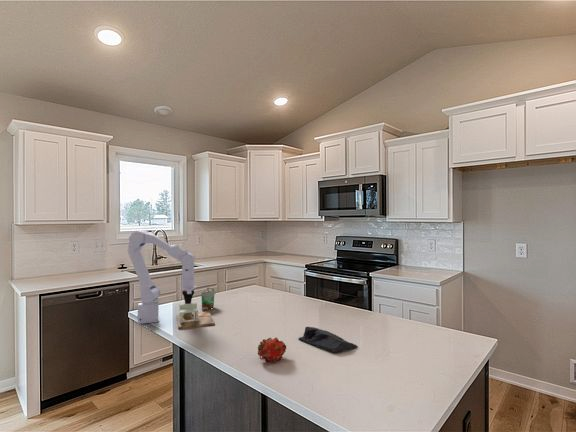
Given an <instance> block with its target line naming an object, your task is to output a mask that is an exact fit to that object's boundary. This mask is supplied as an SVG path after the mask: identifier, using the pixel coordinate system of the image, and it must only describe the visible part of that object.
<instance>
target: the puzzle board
mask: <svg viewBox="0 0 576 432" xmlns="http://www.w3.org/2000/svg"><path fill="white" fill-rule="evenodd" d="M176 321H177V329H178V330H185V329H192V328H193V329H194V328H200V327H201V328H202V327H208V326H209V327H210V326H215V325H216V322H215V321H214V319H213V317H212V315H211V313H210V312H209V311H200V312H199V311H198V321H196V320H195V312H193V313H192V318H185V319H183V323H180V319H179V314H176Z"/></svg>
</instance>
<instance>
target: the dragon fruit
mask: <svg viewBox="0 0 576 432" xmlns="http://www.w3.org/2000/svg"><path fill="white" fill-rule="evenodd" d="M286 351H287V345H286V344H285V342H284V341H282V340H279V338H278V337H274V338H272V337H269V338H267V339H266V338H265V339H264V338H263V339H262V341H260V342H259V344H258V346H257V355H258V356H259V359H260V360H262V361H263V360H264V361H265V362H266V363H268V362H272V363H276V361H280V360H282V359H283V355H284V354H285V353H286Z"/></svg>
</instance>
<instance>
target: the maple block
mask: <svg viewBox="0 0 576 432" xmlns="http://www.w3.org/2000/svg"><path fill="white" fill-rule="evenodd" d="M185 318H193V316H192V313H184V314H183V319H185Z"/></svg>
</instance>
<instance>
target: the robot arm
mask: <svg viewBox="0 0 576 432" xmlns="http://www.w3.org/2000/svg"><path fill="white" fill-rule="evenodd" d="M146 244H153V245H155V246H157V247H159V248H160V249H162V250H164V251H166V253H167V255H168V256H170V257H171V258H173V259H175V260H177V261H178V262H180V264H181V290H182V291H181V294H182V296H183V298H184V299H183V300H184V304H190V303H192V300H193V296H194V295H195V290H194V289H197V287H198V286H196V285H195V260H196V256H195V254H193V252H191V251H190V252H189V251H188V250H185V249H183V248H181V247H180V245H179V244H173V245H171V244H169V243H168V242H167V241H165V240H164V239H162V238H160V237H158V236H157V235H155V234H154V233H153V232H149V231H148V230H146V229H143V230H135V231H133V232H132V233H131V234H130V235H129V237H128V247H127V252H128V255H129V258H130V261H131V264H132V265H133V268H134V271H135V274H136V277H137V279H138V282H139V284H140V286H139V292H140V300H141V302H140V303H137V317H136V318H137V319H136V320H137V325H141V324H150V323H160V316H159V305H160V304H159V303H160V302H159V297H160V295H161V290H160V288H159V287H158V286H156V284H155V282H154V281H152V277H151V275H150V272H149V270H148V267H147V265H146V262H145V259H144V256H143V254H142V251H141V250H143V247H144V246H145V245H146Z"/></svg>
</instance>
